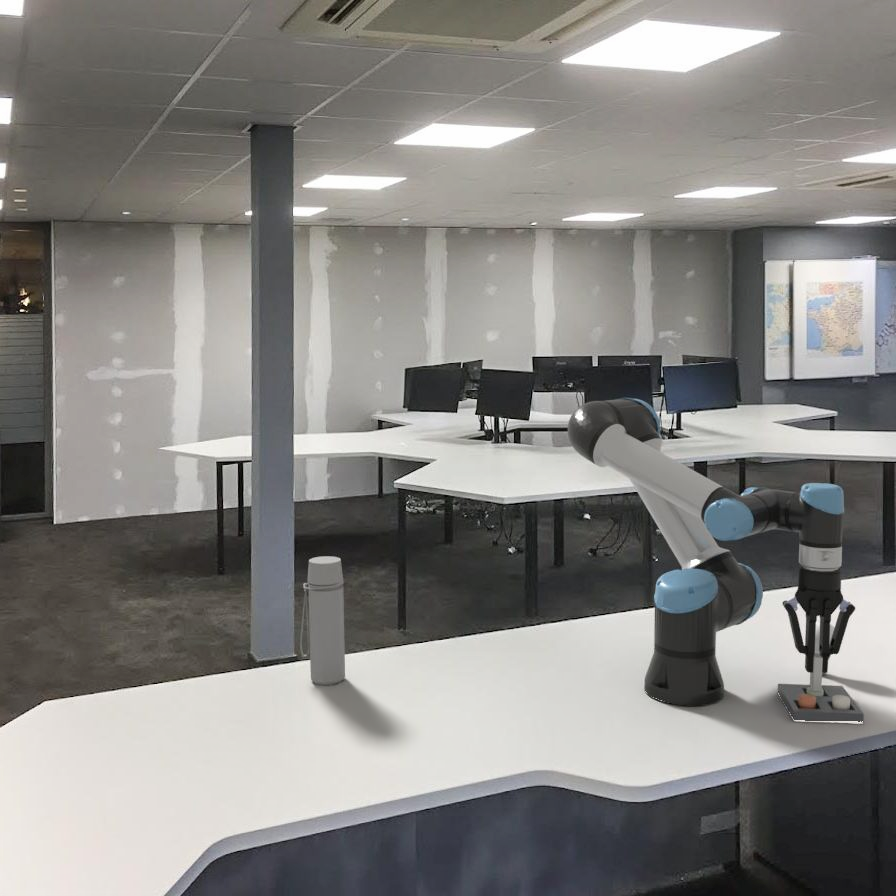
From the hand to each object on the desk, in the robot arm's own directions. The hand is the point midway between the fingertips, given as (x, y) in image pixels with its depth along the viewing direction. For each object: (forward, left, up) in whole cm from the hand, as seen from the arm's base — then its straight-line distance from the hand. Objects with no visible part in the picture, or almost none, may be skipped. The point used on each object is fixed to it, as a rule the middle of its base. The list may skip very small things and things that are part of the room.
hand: (815, 688), depth 188 cm
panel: (0, -3, -3) cm, 4 cm away
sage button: (0, 0, -2) cm, 2 cm away
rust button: (-3, -6, -1) cm, 7 cm away
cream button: (+3, -6, -1) cm, 7 cm away
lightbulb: (+5, +16, -3) cm, 17 cm away
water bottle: (-96, +3, -3) cm, 96 cm away
